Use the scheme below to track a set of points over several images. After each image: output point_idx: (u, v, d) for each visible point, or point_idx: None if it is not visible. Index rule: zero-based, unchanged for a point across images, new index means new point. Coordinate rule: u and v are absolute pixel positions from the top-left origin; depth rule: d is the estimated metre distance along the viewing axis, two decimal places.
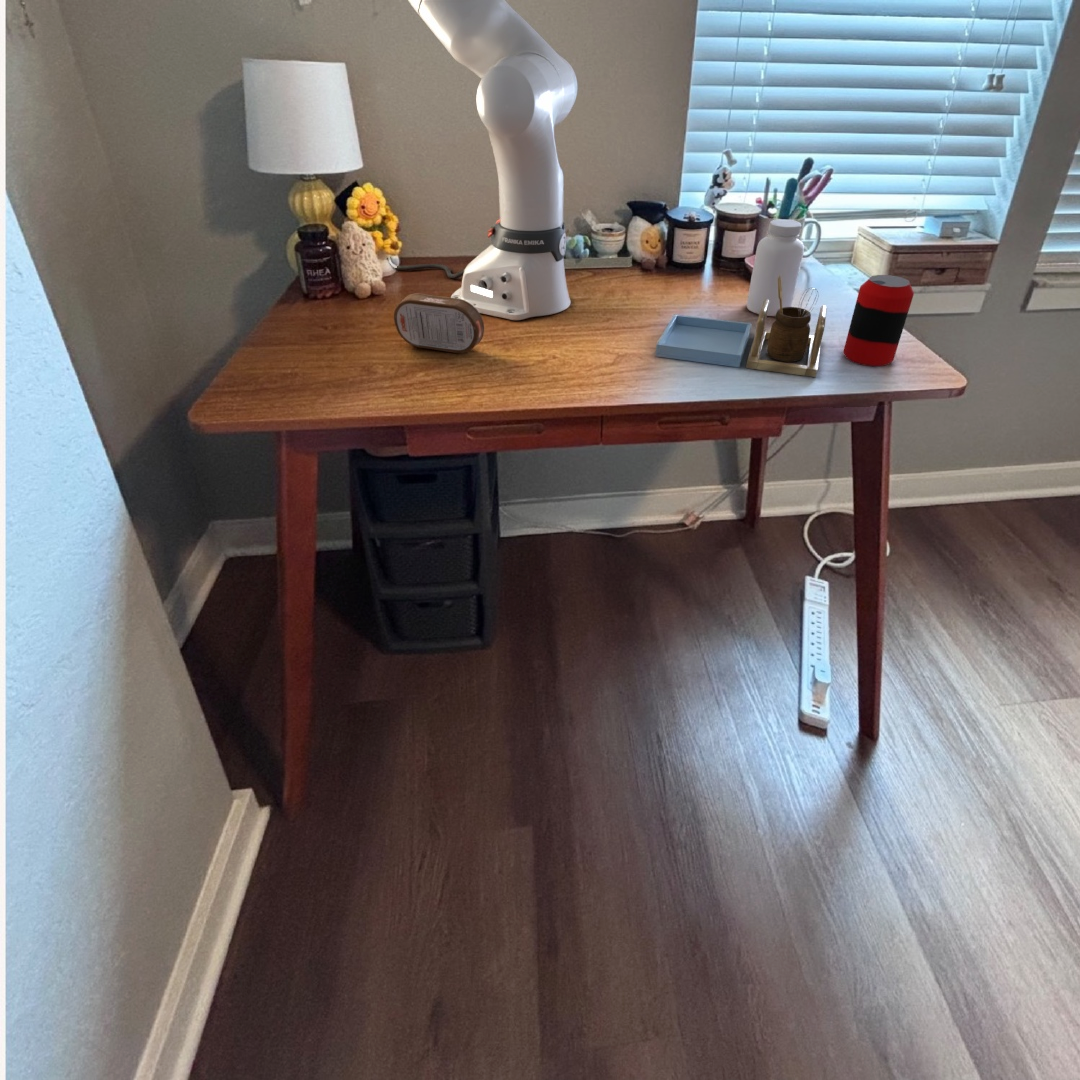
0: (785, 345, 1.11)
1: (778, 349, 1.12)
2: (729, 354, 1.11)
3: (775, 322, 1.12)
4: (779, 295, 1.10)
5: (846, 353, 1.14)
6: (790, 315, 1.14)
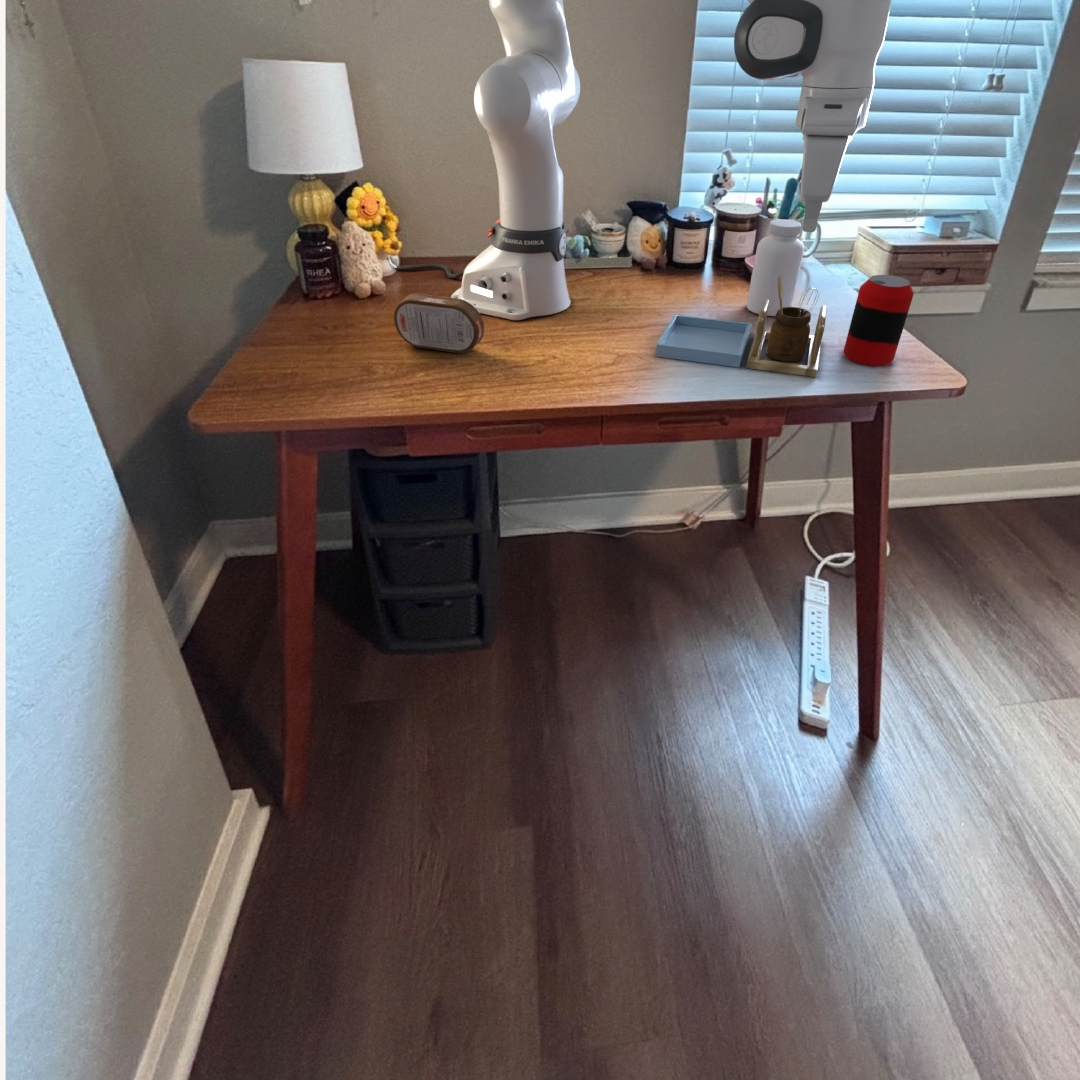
0: (785, 345, 1.11)
1: (778, 349, 1.12)
2: (729, 354, 1.11)
3: (775, 322, 1.12)
4: (779, 295, 1.10)
5: (846, 353, 1.14)
6: (790, 315, 1.14)
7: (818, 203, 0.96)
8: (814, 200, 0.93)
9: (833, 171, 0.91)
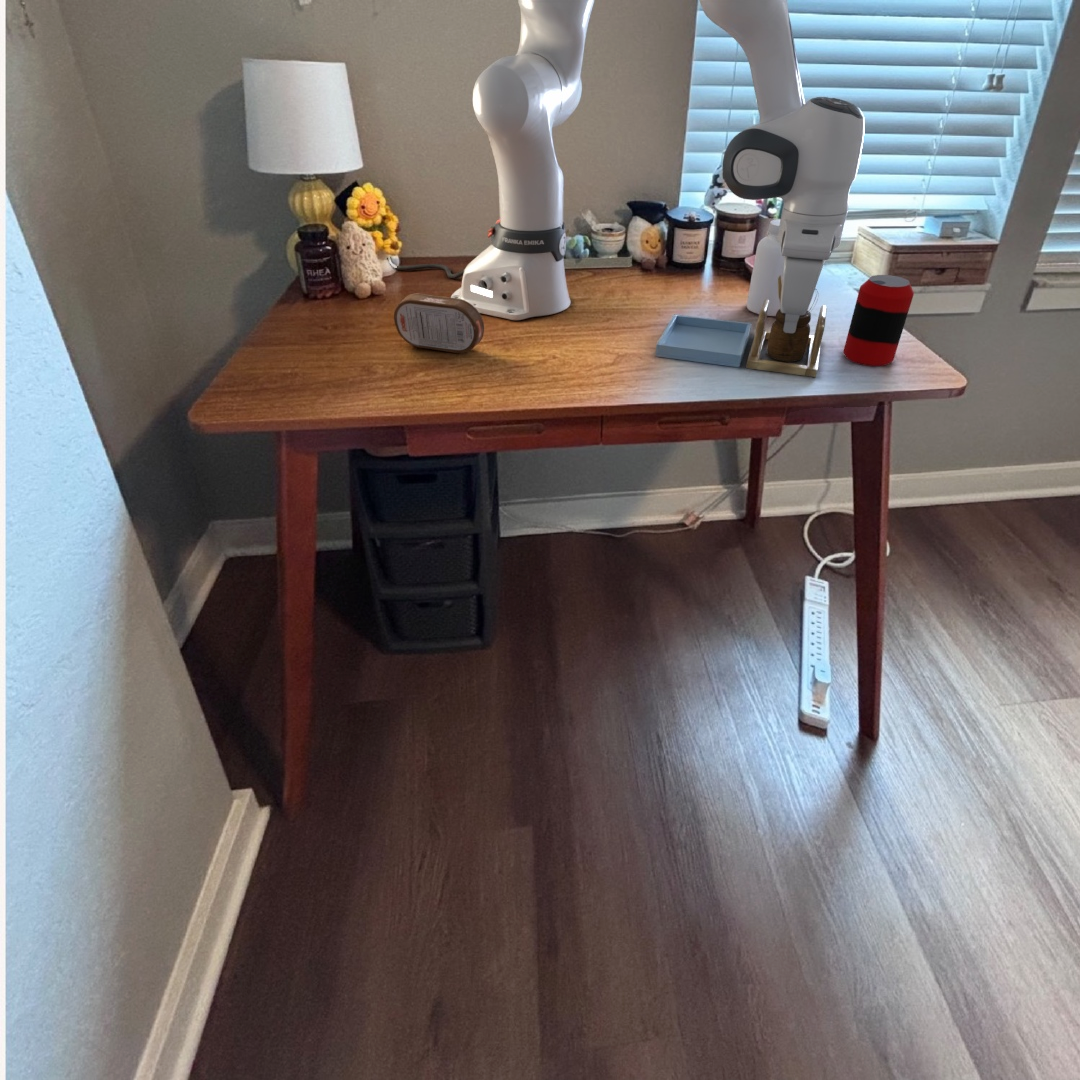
0: (785, 345, 1.11)
1: (778, 349, 1.12)
2: (729, 354, 1.11)
3: (775, 322, 1.12)
4: (779, 295, 1.10)
5: (846, 353, 1.14)
6: None
7: None
8: (792, 313, 1.02)
9: (810, 290, 0.99)
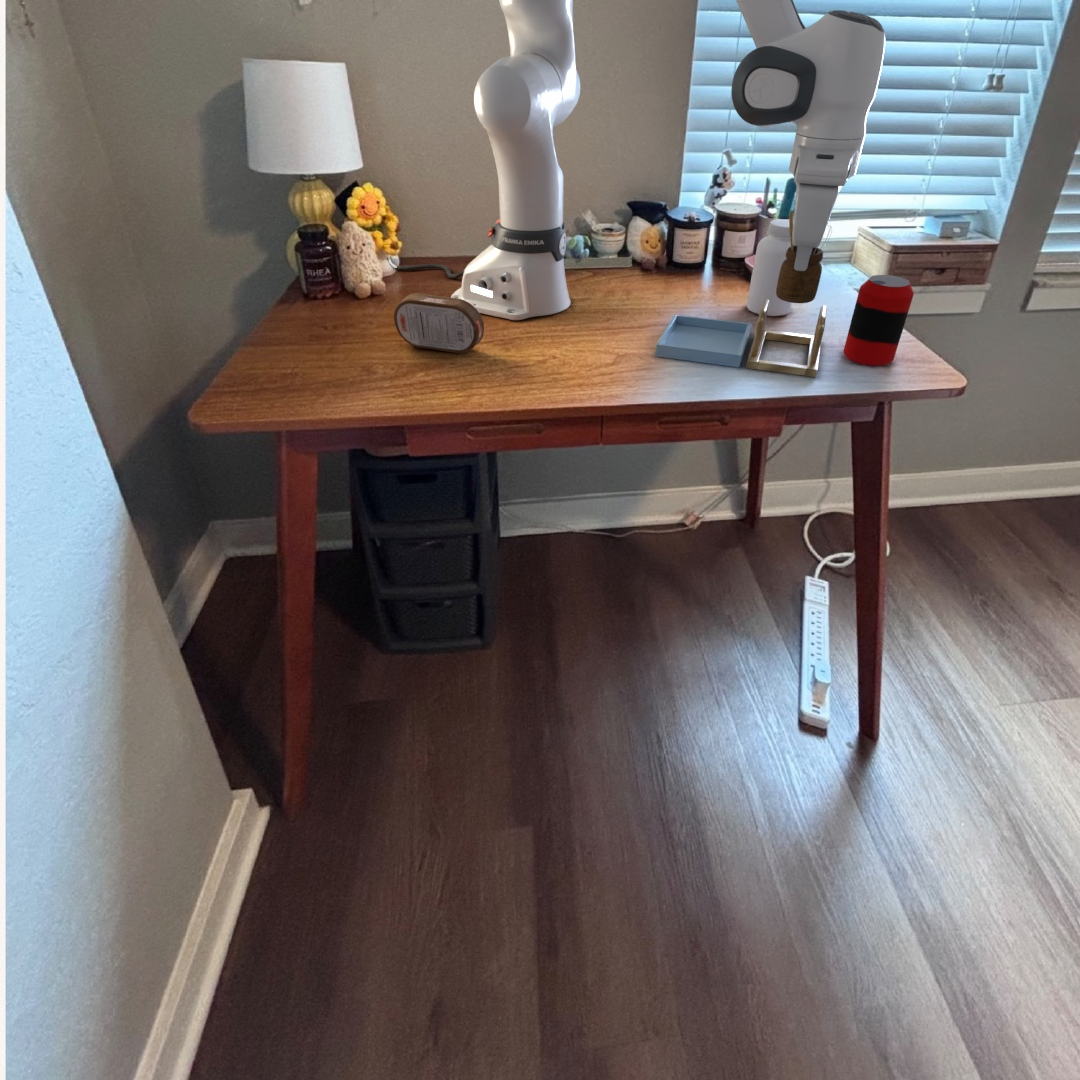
0: (796, 285, 1.06)
1: (788, 289, 1.07)
2: (729, 354, 1.11)
3: (785, 261, 1.07)
4: (790, 231, 1.04)
5: (846, 353, 1.14)
6: None
7: None
8: (805, 245, 0.97)
9: (824, 219, 0.94)
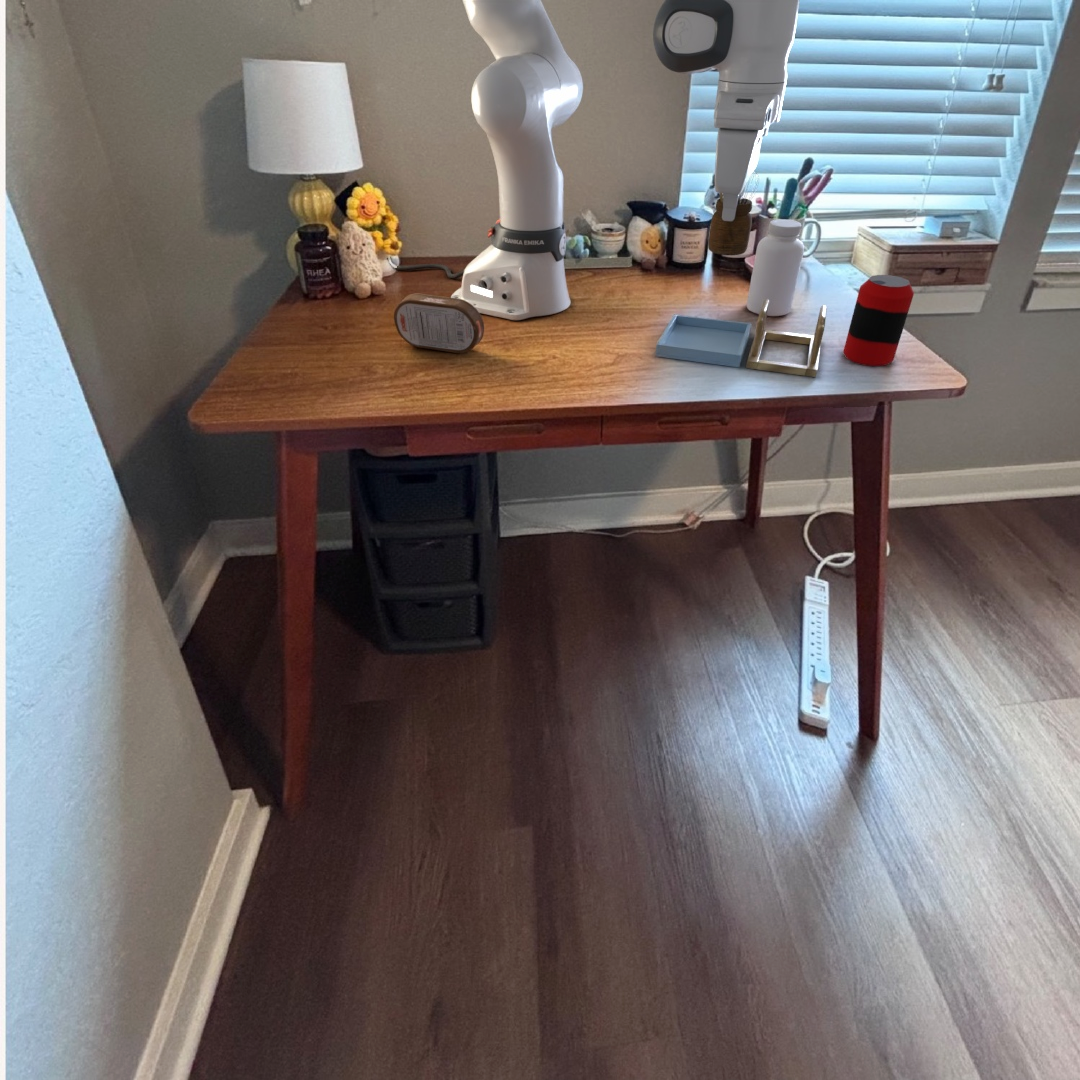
0: (725, 236, 1.05)
1: (718, 241, 1.06)
2: (729, 354, 1.11)
3: (715, 212, 1.06)
4: None
5: (846, 353, 1.14)
6: None
7: None
8: (727, 192, 0.96)
9: (744, 164, 0.93)
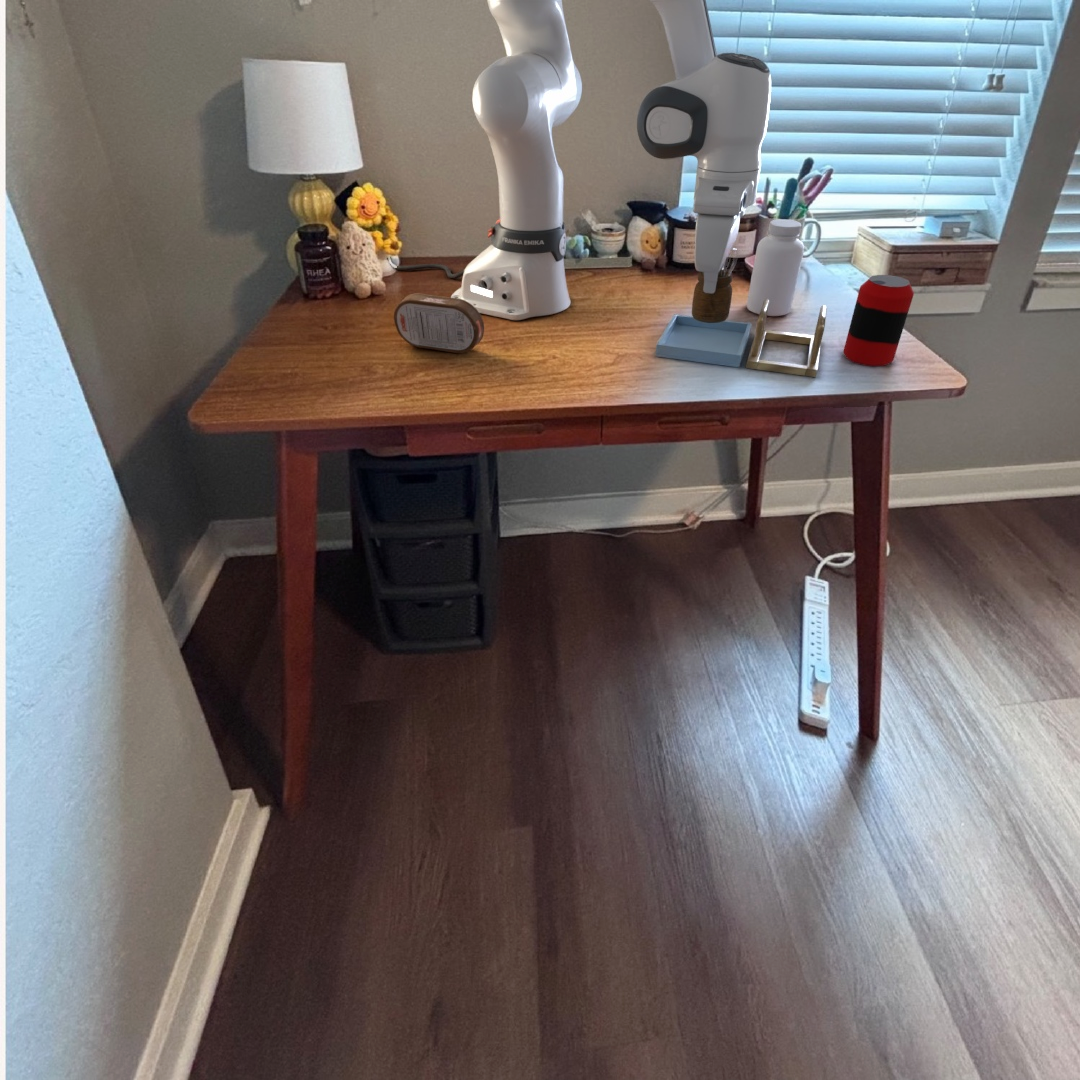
0: (707, 306, 1.12)
1: (701, 310, 1.13)
2: (729, 354, 1.11)
3: (698, 283, 1.13)
4: None
5: (846, 353, 1.14)
6: None
7: None
8: (707, 271, 1.03)
9: (721, 246, 1.00)
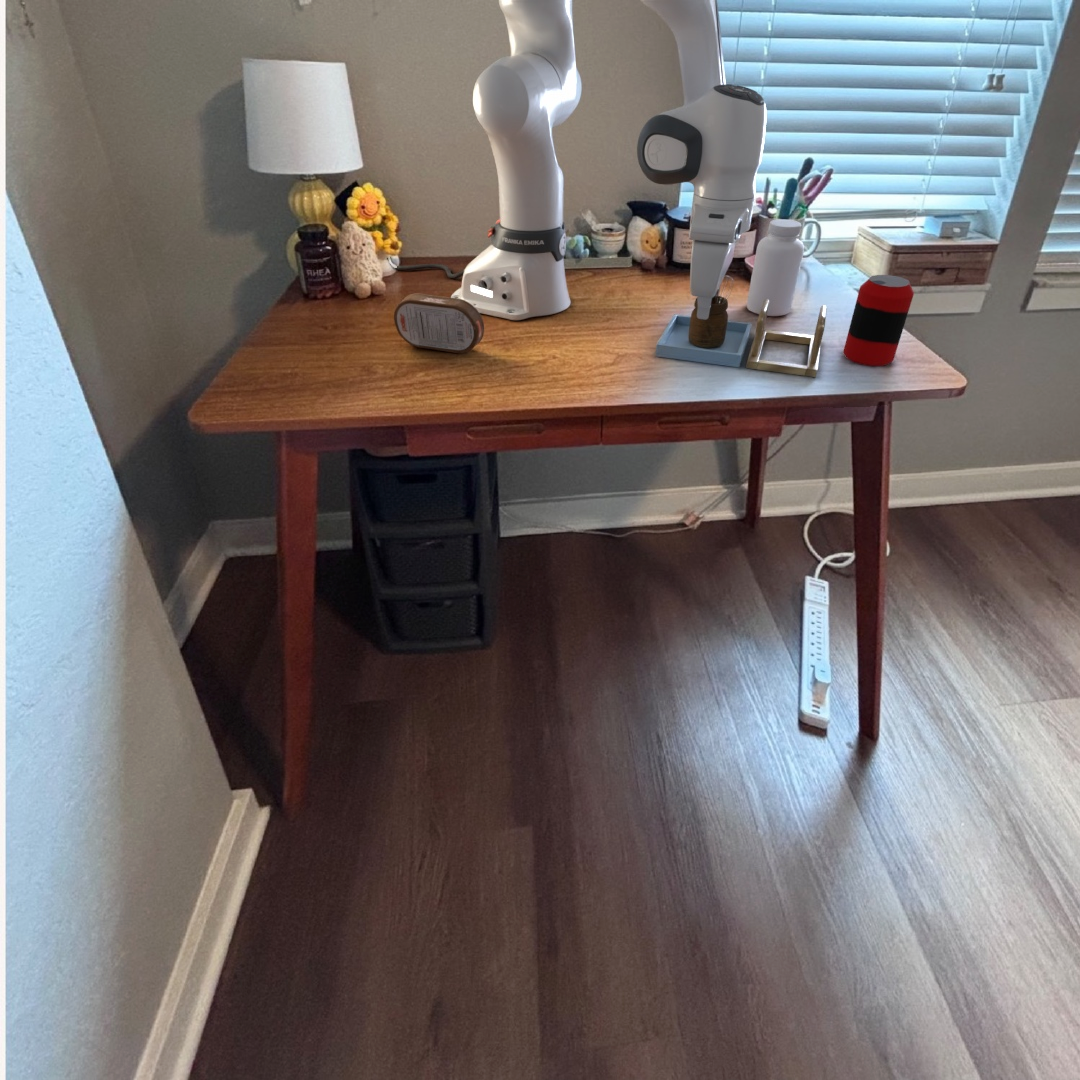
0: (703, 332, 1.15)
1: (697, 335, 1.16)
2: (729, 354, 1.11)
3: (694, 309, 1.16)
4: None
5: (846, 353, 1.14)
6: None
7: None
8: (702, 296, 1.05)
9: (716, 273, 1.02)
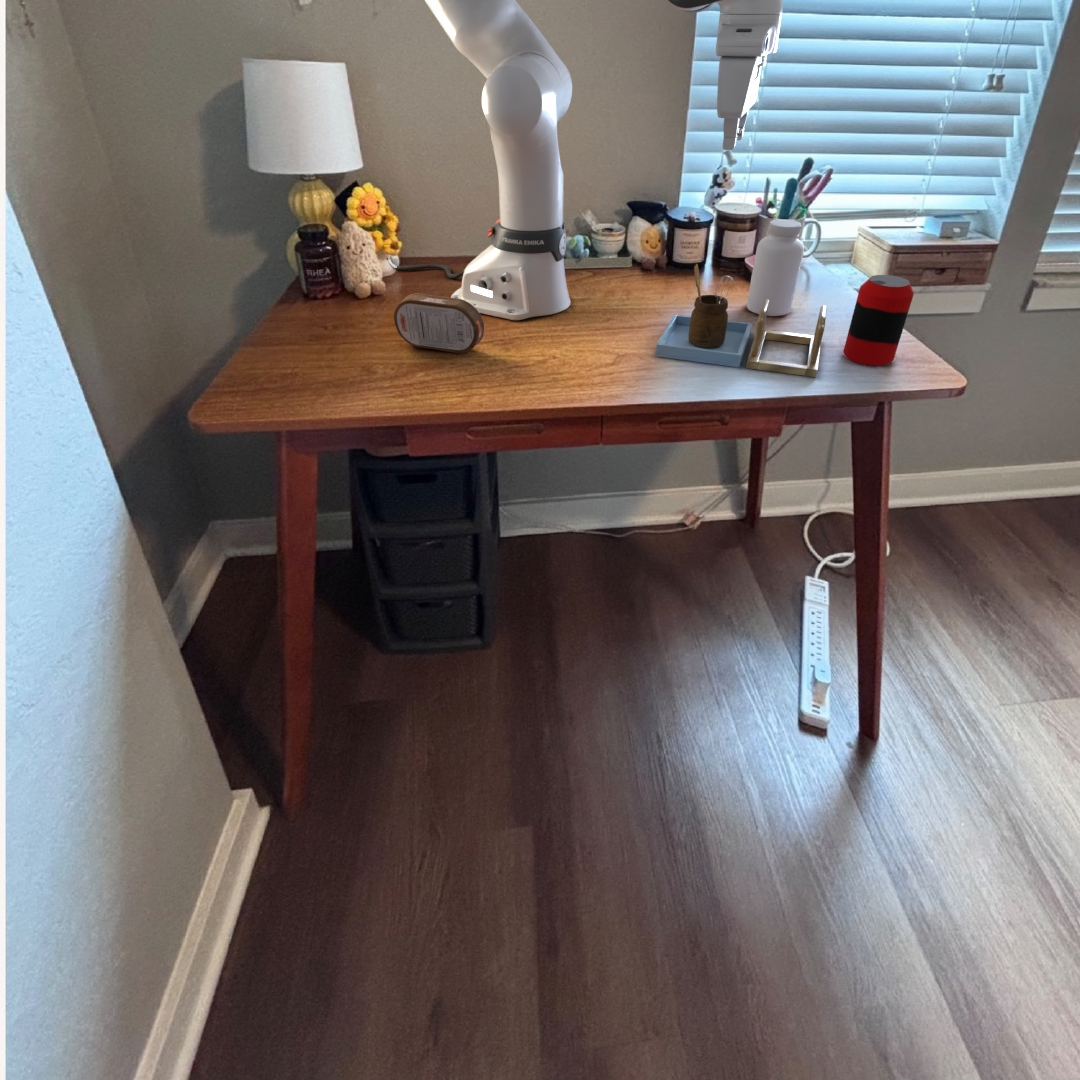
0: (703, 332, 1.15)
1: (697, 335, 1.16)
2: (729, 354, 1.11)
3: (694, 309, 1.16)
4: (696, 283, 1.13)
5: (846, 353, 1.14)
6: (709, 303, 1.17)
7: (734, 121, 1.07)
8: (729, 117, 1.04)
9: (744, 88, 1.02)
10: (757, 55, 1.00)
